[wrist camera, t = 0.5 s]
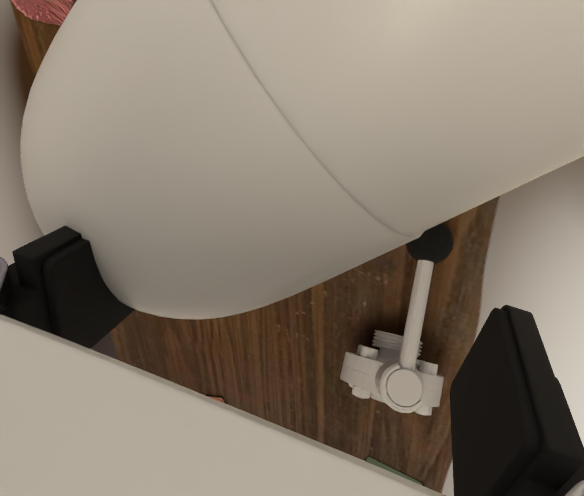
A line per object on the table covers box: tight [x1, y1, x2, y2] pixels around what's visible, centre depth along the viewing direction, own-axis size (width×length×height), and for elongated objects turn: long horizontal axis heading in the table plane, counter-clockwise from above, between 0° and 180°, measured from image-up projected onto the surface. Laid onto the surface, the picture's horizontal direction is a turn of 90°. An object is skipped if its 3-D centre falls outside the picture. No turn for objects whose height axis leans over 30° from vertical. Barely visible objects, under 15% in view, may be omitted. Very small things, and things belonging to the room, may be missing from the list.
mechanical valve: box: [340, 223, 453, 415], centre depth 41 cm, size 10×18×15 cm
